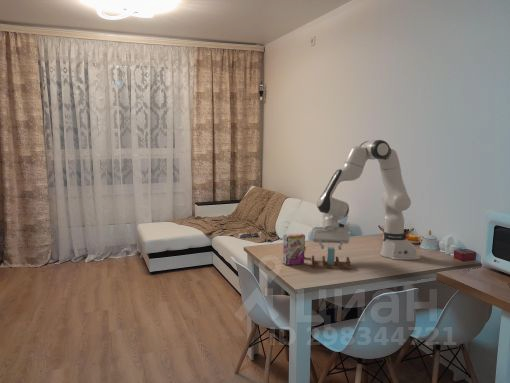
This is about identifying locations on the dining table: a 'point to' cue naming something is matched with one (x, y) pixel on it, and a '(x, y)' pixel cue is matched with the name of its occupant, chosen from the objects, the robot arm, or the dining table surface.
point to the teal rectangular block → (330, 256)
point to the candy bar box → (293, 249)
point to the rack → (336, 265)
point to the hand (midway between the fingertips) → (331, 248)
